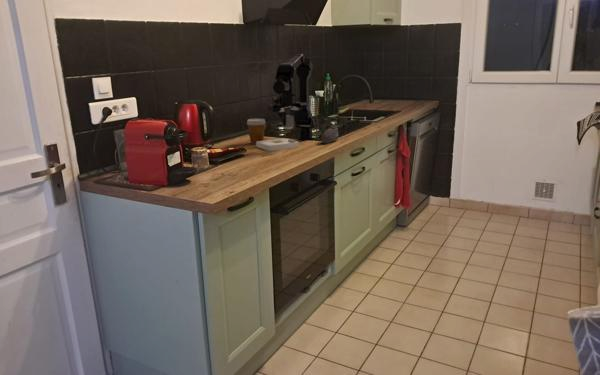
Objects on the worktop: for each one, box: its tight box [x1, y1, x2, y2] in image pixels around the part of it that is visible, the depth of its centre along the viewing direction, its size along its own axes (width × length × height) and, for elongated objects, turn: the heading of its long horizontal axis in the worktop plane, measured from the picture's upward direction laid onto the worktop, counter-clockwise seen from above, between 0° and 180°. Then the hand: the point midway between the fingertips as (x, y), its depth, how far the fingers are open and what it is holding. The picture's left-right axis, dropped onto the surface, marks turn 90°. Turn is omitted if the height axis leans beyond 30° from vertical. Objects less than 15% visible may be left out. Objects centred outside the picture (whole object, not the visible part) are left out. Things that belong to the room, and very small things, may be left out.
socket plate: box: [255, 137, 300, 152], centre depth 239 cm, size 16×14×3 cm
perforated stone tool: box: [320, 126, 340, 144], centre depth 248 cm, size 15×5×7 cm, turn 146°
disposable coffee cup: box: [246, 118, 266, 146], centre depth 247 cm, size 10×10×12 cm
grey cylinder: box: [281, 114, 295, 130], centre depth 231 cm, size 4×4×6 cm
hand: (288, 125), depth 232 cm, fingers closed on grey cylinder, 4 cm apart
